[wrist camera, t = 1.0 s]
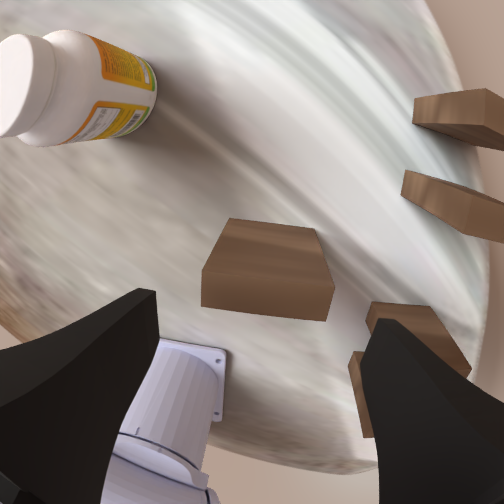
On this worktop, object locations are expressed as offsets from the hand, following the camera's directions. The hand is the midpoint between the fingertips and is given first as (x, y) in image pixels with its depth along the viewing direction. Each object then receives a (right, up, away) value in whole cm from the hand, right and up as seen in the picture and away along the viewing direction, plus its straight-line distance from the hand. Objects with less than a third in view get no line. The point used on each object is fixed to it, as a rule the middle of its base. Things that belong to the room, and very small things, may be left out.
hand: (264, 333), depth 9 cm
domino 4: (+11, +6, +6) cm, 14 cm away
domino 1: (+1, +3, +9) cm, 9 cm away
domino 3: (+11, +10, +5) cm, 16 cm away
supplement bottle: (-8, +12, +6) cm, 16 cm away
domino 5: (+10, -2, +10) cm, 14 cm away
